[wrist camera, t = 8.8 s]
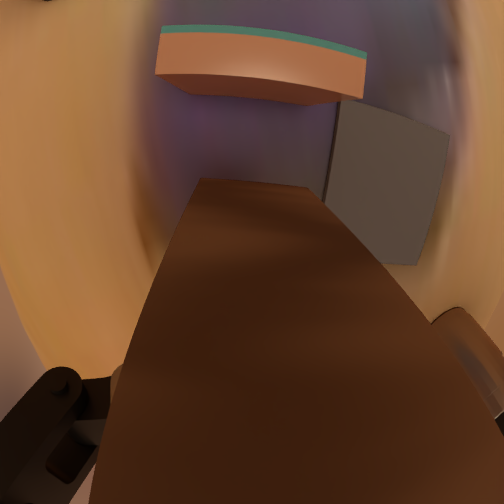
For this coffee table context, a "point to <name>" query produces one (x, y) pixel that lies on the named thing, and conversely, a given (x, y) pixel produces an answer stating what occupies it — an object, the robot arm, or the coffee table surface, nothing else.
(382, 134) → the rest mat
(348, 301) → the tall wooden block
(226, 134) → the coffee table surface
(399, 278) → the coffee table surface
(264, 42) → the tile
